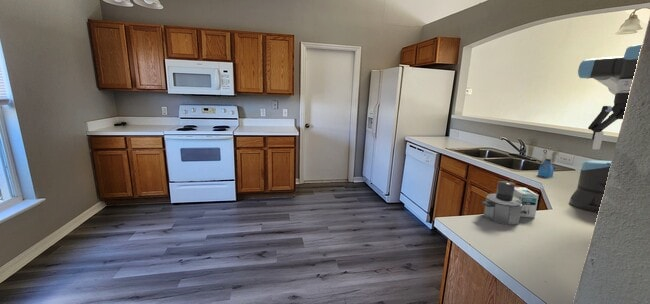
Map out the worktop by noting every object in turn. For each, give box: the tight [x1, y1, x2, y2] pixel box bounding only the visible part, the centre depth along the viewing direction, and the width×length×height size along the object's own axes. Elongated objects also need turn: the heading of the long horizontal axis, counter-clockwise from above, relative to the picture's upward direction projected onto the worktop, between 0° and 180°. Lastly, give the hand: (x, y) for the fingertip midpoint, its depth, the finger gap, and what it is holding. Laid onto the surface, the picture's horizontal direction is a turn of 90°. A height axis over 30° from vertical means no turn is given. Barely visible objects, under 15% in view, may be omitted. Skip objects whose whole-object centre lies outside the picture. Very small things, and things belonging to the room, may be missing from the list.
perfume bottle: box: [537, 158, 555, 179], centre depth 185 cm, size 6×6×12 cm
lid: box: [486, 180, 522, 206], centre depth 116 cm, size 12×12×10 cm
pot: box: [481, 196, 525, 226], centre depth 117 cm, size 18×13×8 cm
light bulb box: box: [513, 186, 540, 219], centre depth 123 cm, size 11×7×11 cm, turn 169°
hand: (617, 152), depth 97 cm, fingers open, 13 cm apart
